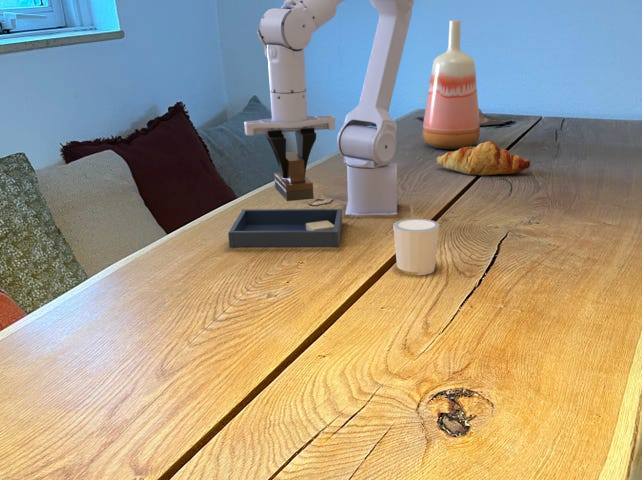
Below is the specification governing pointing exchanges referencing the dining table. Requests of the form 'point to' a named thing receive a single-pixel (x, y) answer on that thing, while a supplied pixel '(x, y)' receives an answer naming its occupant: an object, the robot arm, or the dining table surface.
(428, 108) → the vase
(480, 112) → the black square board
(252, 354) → the dining table surface
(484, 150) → the croissant
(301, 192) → the stepped wooden pedestal
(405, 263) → the shot glass
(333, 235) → the tray
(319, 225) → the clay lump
